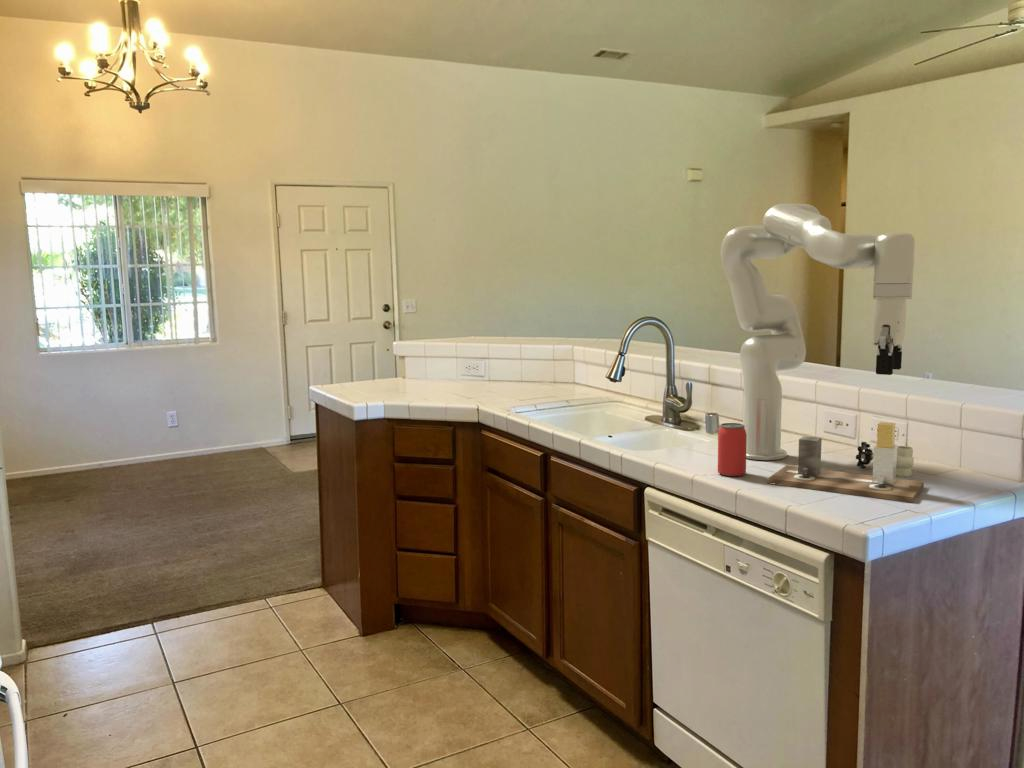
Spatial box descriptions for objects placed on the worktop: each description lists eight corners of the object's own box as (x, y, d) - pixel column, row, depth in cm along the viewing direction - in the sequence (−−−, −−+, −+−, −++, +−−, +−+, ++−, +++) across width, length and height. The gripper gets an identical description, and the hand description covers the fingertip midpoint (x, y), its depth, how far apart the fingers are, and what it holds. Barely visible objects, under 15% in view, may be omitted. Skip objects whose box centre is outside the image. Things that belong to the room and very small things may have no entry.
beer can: (733, 478, 186) (733, 428, 184) (711, 473, 191) (712, 424, 190) (751, 474, 189) (752, 425, 188) (730, 469, 195) (731, 421, 193)
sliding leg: (870, 484, 172) (872, 426, 170) (876, 478, 177) (878, 421, 175) (890, 487, 170) (892, 428, 168) (895, 480, 175) (898, 423, 173)
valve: (917, 473, 187) (866, 465, 196) (919, 446, 186) (867, 439, 195) (906, 479, 183) (855, 470, 191) (908, 451, 182) (856, 443, 190)
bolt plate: (767, 483, 181) (768, 441, 180) (786, 470, 193) (787, 431, 191) (912, 502, 164) (914, 457, 163) (923, 487, 175) (925, 444, 174)
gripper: (881, 290, 178) (878, 366, 180) (864, 293, 164) (861, 375, 166) (918, 290, 173) (914, 368, 176) (904, 293, 159) (900, 377, 162)
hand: (888, 371), depth 171 cm, fingers open, 9 cm apart
